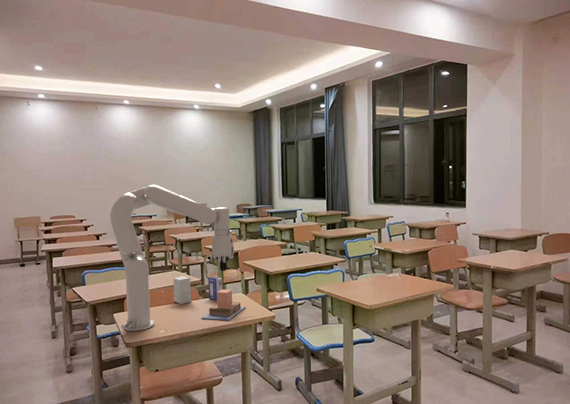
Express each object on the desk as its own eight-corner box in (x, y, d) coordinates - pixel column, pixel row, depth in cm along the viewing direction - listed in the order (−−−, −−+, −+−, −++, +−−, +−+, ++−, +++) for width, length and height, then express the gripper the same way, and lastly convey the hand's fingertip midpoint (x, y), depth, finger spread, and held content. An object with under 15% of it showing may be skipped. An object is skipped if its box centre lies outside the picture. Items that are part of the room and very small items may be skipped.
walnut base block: (230, 315, 191) (230, 309, 191) (209, 314, 194) (209, 308, 194) (240, 308, 203) (240, 302, 202) (220, 307, 206) (220, 301, 206)
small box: (191, 301, 220) (190, 278, 220) (180, 304, 216) (179, 280, 216) (184, 299, 226) (183, 275, 226) (174, 301, 222) (173, 277, 222)
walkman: (209, 298, 225) (208, 277, 224) (212, 297, 227) (211, 276, 227) (219, 300, 221) (218, 278, 220) (223, 299, 223) (222, 277, 223)
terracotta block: (227, 307, 195) (227, 292, 195) (217, 306, 196) (216, 292, 196) (232, 303, 200) (231, 289, 200) (222, 303, 202) (221, 289, 202)
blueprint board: (228, 320, 186) (228, 319, 186) (201, 318, 190) (201, 317, 190) (245, 308, 205) (245, 306, 205) (220, 306, 209) (220, 305, 209)
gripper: (239, 232, 199) (240, 269, 199) (211, 231, 203) (213, 268, 203) (233, 233, 191) (234, 272, 192) (204, 233, 196) (206, 271, 196)
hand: (223, 270), depth 198 cm, fingers closed
